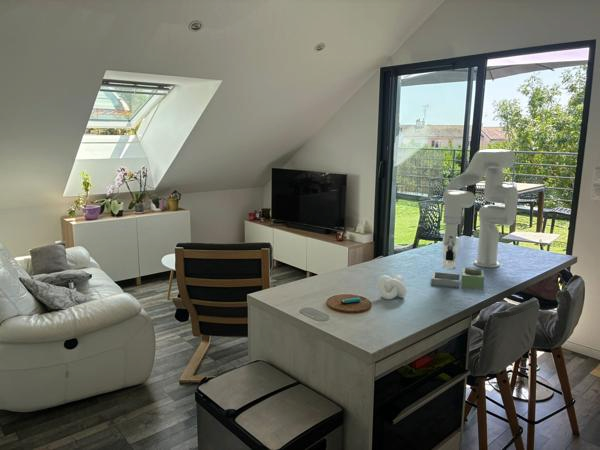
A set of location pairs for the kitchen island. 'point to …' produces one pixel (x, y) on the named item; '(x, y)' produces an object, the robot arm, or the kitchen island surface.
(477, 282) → the push button box
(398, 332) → the kitchen island surface
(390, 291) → the white knot sculpture
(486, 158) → the robot arm
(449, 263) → the beer glass
